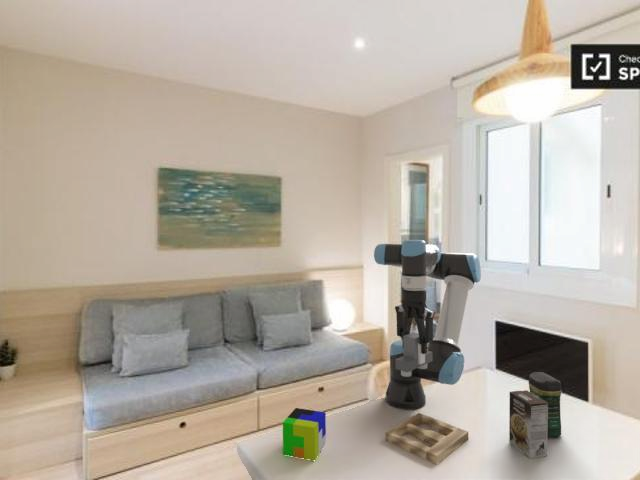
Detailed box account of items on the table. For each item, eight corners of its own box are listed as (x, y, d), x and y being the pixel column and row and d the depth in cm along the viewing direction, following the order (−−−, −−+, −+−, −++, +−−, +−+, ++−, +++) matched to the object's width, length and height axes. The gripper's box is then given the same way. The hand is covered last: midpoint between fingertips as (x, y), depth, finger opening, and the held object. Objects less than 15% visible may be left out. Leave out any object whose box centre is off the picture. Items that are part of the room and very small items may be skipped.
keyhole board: (385, 440, 125) (385, 432, 125) (418, 419, 138) (418, 412, 138) (436, 464, 112) (436, 455, 112) (468, 439, 125) (468, 431, 125)
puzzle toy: (325, 443, 124) (325, 412, 123) (314, 461, 114) (314, 427, 114) (296, 438, 127) (295, 407, 127) (283, 455, 118) (282, 422, 117)
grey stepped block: (395, 375, 124) (395, 338, 123) (420, 363, 133) (420, 329, 133) (407, 378, 121) (407, 341, 120) (432, 367, 130) (432, 332, 130)
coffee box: (508, 442, 123) (508, 391, 123) (526, 440, 125) (526, 389, 124) (529, 459, 114) (529, 404, 114) (548, 456, 116) (548, 401, 115)
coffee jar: (566, 438, 125) (566, 380, 125) (542, 439, 125) (542, 381, 124) (546, 423, 135) (547, 369, 134) (524, 424, 135) (524, 370, 134)
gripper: (384, 287, 130) (385, 357, 131) (431, 293, 117) (432, 371, 118) (398, 284, 135) (399, 352, 136) (445, 290, 122) (445, 365, 123)
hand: (414, 361), depth 127 cm, fingers closed on grey stepped block, 4 cm apart
